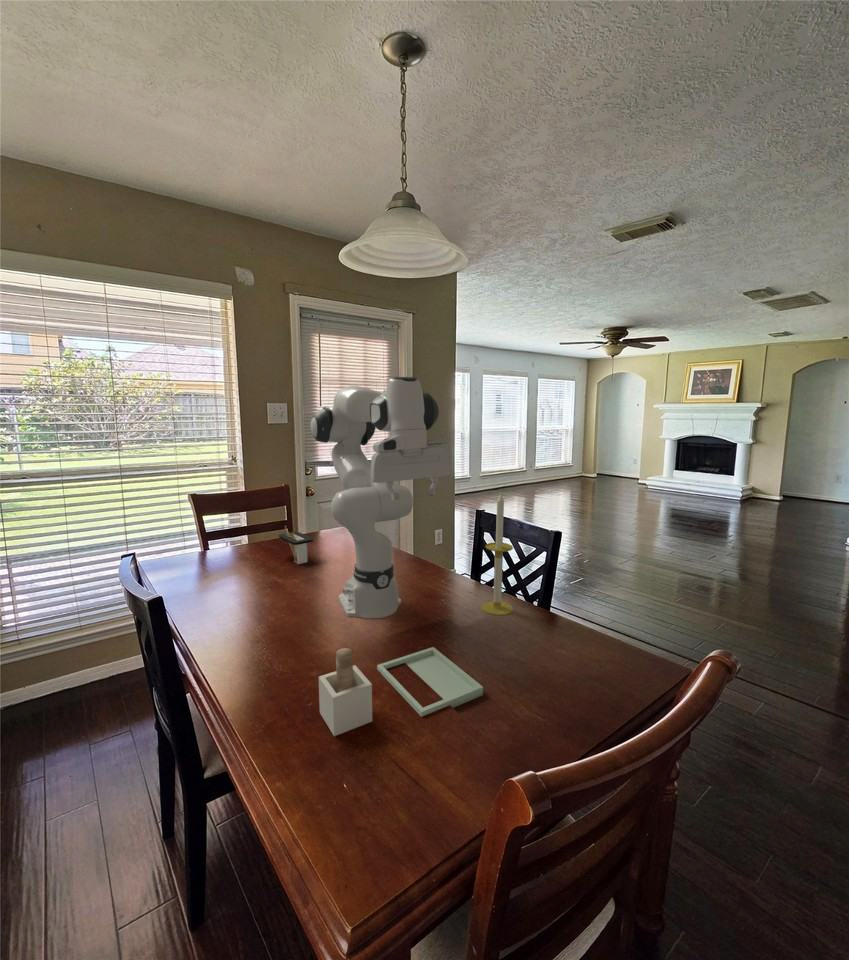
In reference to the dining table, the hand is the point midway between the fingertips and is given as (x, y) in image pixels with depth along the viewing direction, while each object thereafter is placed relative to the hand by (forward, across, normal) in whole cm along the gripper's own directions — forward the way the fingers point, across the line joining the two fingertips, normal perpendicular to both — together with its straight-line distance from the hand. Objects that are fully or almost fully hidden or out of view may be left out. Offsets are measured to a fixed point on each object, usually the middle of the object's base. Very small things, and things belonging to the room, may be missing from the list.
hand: (413, 497), depth 114 cm
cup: (+41, +24, +18) cm, 51 cm away
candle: (+40, -30, -18) cm, 54 cm away
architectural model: (+31, +26, -86) cm, 95 cm away
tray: (+42, +4, +12) cm, 44 cm away
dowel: (+40, +24, +18) cm, 50 cm away
